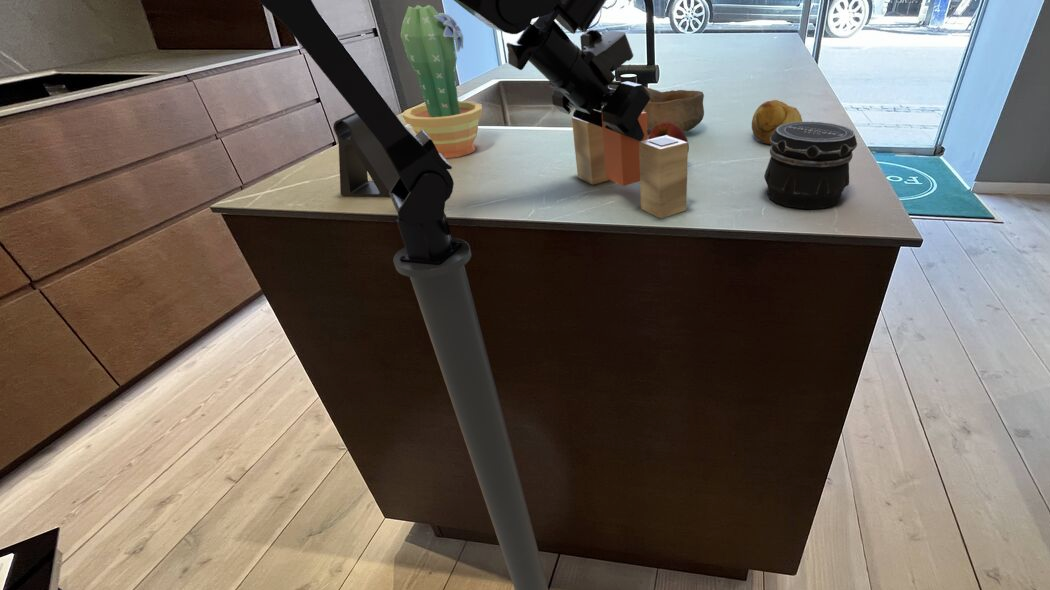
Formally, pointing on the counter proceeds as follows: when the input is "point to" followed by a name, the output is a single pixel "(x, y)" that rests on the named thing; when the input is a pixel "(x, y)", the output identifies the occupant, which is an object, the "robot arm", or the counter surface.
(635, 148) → the terracotta block
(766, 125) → the bread roll
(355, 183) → the phone stand
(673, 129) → the apple
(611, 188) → the counter surface
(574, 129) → the maple block back
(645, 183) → the maple block front
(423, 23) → the potted cactus
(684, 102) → the bowl
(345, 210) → the counter surface
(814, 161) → the container
